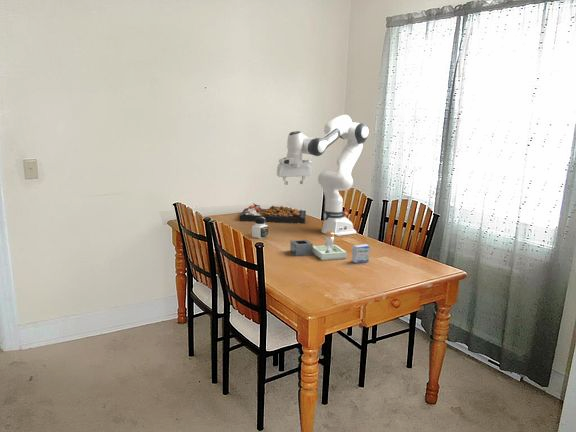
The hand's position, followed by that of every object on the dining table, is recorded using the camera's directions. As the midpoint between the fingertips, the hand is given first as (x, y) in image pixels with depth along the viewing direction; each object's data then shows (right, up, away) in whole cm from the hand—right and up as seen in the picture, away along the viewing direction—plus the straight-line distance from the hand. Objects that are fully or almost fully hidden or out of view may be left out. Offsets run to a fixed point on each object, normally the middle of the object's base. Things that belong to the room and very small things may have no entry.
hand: (293, 184), depth 276 cm
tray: (+19, -40, -19) cm, 48 cm away
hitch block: (+4, -38, -16) cm, 42 cm away
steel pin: (+19, -39, -19) cm, 47 cm away
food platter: (-14, -21, +63) cm, 68 cm away
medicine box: (+34, -42, -27) cm, 61 cm away
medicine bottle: (-20, -31, +14) cm, 40 cm away
